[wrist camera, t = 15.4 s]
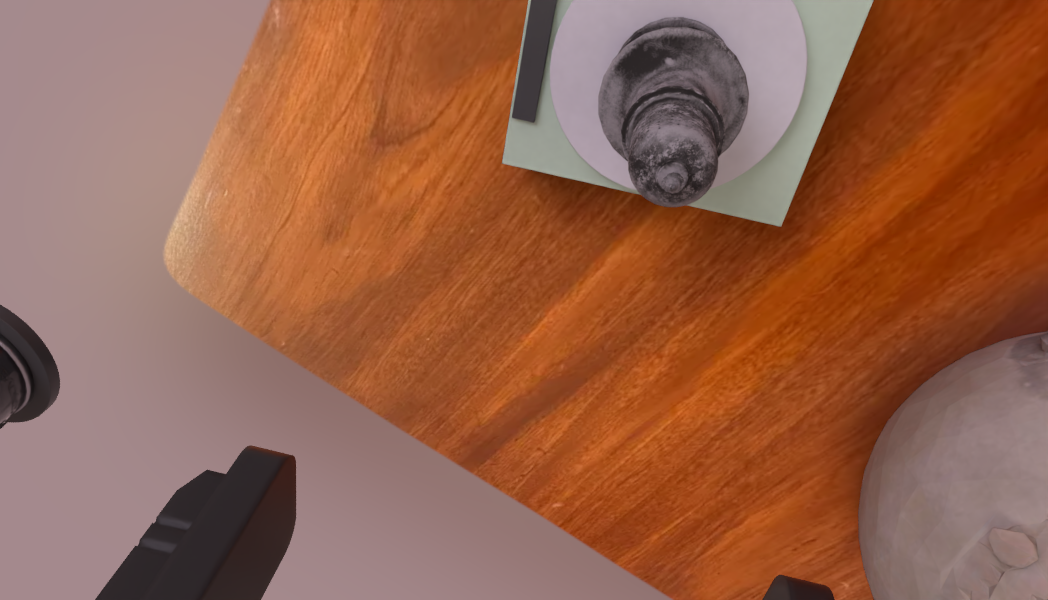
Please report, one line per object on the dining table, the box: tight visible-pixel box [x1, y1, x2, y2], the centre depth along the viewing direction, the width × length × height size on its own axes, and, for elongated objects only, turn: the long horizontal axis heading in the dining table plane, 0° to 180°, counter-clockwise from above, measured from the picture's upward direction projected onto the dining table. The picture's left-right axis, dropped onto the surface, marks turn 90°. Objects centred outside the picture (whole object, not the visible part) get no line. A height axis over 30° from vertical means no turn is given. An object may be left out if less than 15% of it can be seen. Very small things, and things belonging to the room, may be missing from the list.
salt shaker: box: [598, 17, 749, 207], centre depth 27 cm, size 6×6×12 cm
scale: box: [502, 0, 874, 227], centre depth 33 cm, size 14×12×4 cm
